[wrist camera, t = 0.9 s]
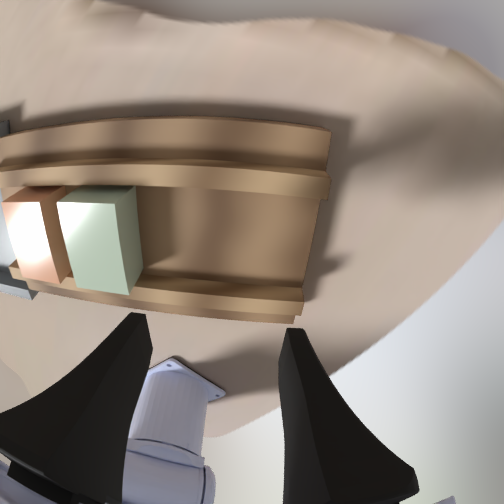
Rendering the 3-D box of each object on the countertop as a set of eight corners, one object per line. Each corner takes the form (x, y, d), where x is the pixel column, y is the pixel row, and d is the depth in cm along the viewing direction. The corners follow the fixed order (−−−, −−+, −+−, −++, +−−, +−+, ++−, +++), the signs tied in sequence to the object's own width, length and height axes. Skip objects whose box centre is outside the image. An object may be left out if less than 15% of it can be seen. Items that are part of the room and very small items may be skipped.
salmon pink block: (64, 184, 16) (39, 202, 14) (79, 260, 19) (60, 284, 17) (26, 186, 16) (1, 202, 13) (42, 255, 19) (22, 277, 17)
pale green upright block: (135, 185, 16) (114, 203, 14) (143, 268, 19) (129, 295, 17) (82, 184, 16) (56, 202, 14) (95, 262, 19) (76, 287, 17)
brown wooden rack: (323, 127, 16) (338, 136, 13) (291, 306, 23) (294, 338, 20) (9, 133, 16) (-19, 144, 13) (39, 276, 23) (21, 298, 20)
